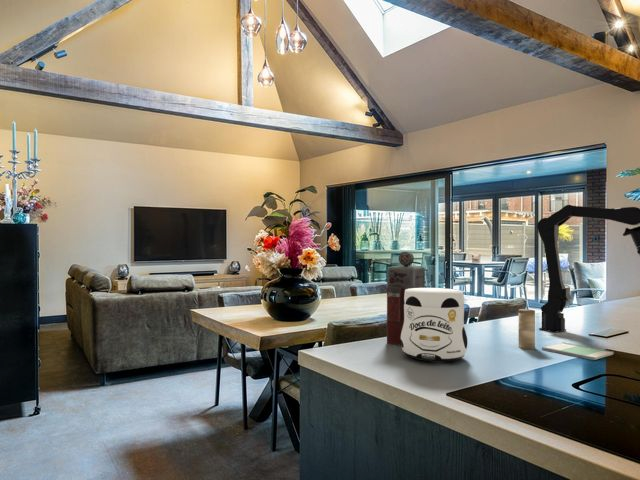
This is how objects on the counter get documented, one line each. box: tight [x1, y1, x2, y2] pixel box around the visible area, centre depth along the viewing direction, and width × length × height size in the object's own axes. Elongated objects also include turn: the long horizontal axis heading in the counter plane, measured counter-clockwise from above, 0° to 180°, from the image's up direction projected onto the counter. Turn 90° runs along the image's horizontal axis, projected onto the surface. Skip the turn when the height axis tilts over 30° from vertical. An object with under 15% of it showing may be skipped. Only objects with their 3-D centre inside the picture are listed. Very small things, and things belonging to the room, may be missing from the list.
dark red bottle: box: [386, 251, 426, 346], centre depth 140 cm, size 9×11×28 cm
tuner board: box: [541, 341, 615, 361], centre depth 129 cm, size 14×12×1 cm
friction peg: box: [518, 308, 536, 350], centre depth 134 cm, size 4×4×11 cm
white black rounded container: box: [400, 287, 468, 363], centre depth 122 cm, size 17×17×18 cm
